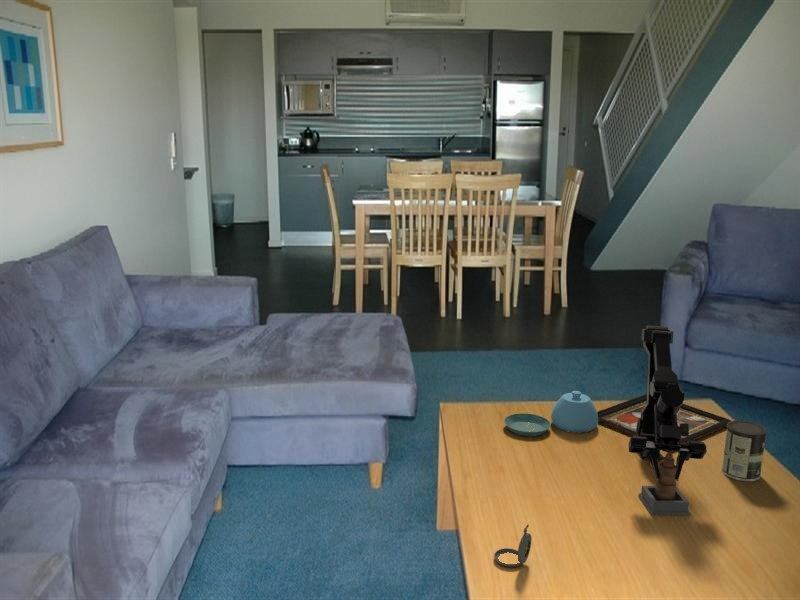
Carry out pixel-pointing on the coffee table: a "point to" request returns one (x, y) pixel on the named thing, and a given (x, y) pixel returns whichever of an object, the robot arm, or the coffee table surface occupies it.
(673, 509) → the slate open box
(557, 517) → the coffee table surface
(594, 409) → the sugar bowl
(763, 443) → the coffee can
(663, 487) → the pepper mill
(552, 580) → the coffee table surface
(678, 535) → the coffee table surface
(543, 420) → the saucer
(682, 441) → the framed icon painting
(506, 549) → the pocket watch
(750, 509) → the coffee table surface
